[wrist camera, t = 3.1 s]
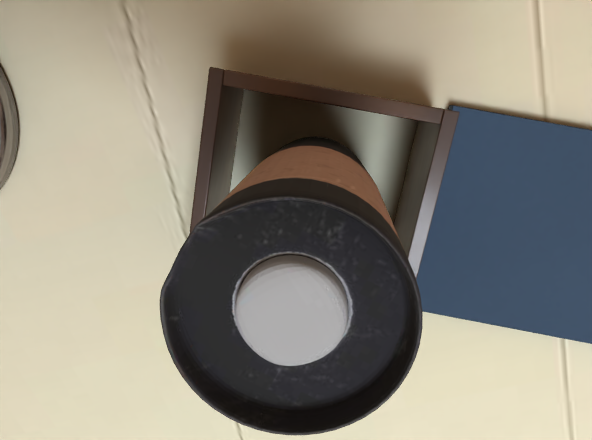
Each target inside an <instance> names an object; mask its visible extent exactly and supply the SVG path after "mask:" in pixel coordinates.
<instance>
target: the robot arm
mask: <svg viewBox="0 0 592 440" xmlns="http://www.w3.org/2000/svg"><path fill="white" fill-rule="evenodd" d="M17 146H18V118H17V111H16V106H15V102H14V98H13V95H12V92H11V89H10V86H9V84H8V81H7V79H6V77H5V75H4V73H3V71H2V69H1V67H0V189H1V188H2V186H3V185H4V184H5V182H6V180H7V178H8V176H9V174H10V172H11V170H12V167H13V164H14V161H15V157H16V152H17Z"/></svg>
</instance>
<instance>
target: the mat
mask: <svg viewBox="0 0 592 440" xmlns="http://www.w3.org/2000/svg"><path fill="white" fill-rule="evenodd" d="M448 110H452V111H458V112H460V113H459V117H458V121H457V125H456V129H455V133H454V136H453V140H452V144H451V148H450V152H449V156H448V160H447V163H446V167H445V171H444V175H443V179H442V183H441V187H440V191H439V194H438V198H437V202H436V206H435V210H434V214H433V218H432V221H431V225H430V229H429V233H428V237H427V241H426V245H425V248H424V252H423V256H422V260H421V264H420V268H419V272H418V275H417V279H416V281H417V284H418V288H419V291H420V296H421V304H422V311H424V312H429V313H434V314H439V315H444V316H450V317H455V318H460V319H465V320H471V321H476V322H481V323H486V324H491V325H497V326H502V327H507V328H512V329H518V330H523V331H528V332H533V333H538V334H544V335H549V336H554V337H559V338H564V339H570V340H575V341H580V342H585V343H591V344H592V130H588V129H583V128H577V127H571V126H566V125H560V124H555V123H549V122H544V121H538V120H532V119H527V118H521V117H516V116H510V115H505V114H499V113H494V112H488V111H482V110H477V109H471V108H466V107H460V106H455V105H450V106H449V109H448Z"/></svg>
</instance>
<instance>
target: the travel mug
mask: <svg viewBox="0 0 592 440" xmlns="http://www.w3.org/2000/svg"><path fill="white" fill-rule="evenodd" d="M160 315H161V323H162V328H163V334H164V337H165V341H166V344H167V348H168V350H169V353H170V355H171V357H172V359H173V362H174V364H175V365H176V367H177V369H178V370H179V372H180V374H181V376H182V377H183V378H184V380H185V381H186V382H187V383H188V385H189V386H190V387H191V389H192V390H193V391H194V392H195V393H196V394H197V395H198V396H199V397H200V398H201V399H202V400H204V401H205V402H206V403H207V404H209V405H210V406H211V407H212V408H214V409H215V410H217V411H218V412H220V413H221V414H223V415H225V416H226V417H228V418H230V419H232V420H234V421H236V422H238V423H240V424H242V425H245V426H248V427H251V428H254V429H257V430H261V431H265V432H269V433H275V434H283V435H310V434H319V433H324V432H328V431H333V430H337V429H339V428H342V427H345V426H348V425H350V424H352V423H354V422H356V421H358V420H360V419H362V418H364V417H366V416H367V415H369V414H370V413H372V412H373V411H375V410H376V409H378V408H379V407H380V406H381V405H382V404H383V403H385V402H386V401H387V400H388V399H389V398H390V397H391V396H392V395H393V394H394V392H395V391H396V390H397V389H398V388H399V387H400V385H401V384H402V382H403V381H404V379H405V377H406V376H407V374H408V373H409V371H410V369H411V367H412V364H413V362H414V360H415V358H416V354H417V351H418V348H419V345H420V339H421V333H422V304H421V296H420V291H419V288H418V284H417V281H416V277H415V274H414V272H413V269H412V267H411V265H410V262H409V260H408V258H407V255H406V253H405V251H404V249H403V246H402V244H401V242H400V239H399V237H398V235H397V232H396V230H395V228H394V225H393V223H392V221H391V218H390V216H389V214H388V211H387V209H386V207H385V204H384V202H383V200H382V197H381V195H380V193H379V190H378V188H377V186H376V184H375V183H374V181H373V179H372V178H371V176H370V175H369V173H368V172H367V171H366V169H365V168H364V166H363V165H362V163H361V162H360V161H359V159H358V158H357V157H356V156H355V155H354V154H353V153H352V152H351V151H350V150H349V149H348V148H346V147H345V146H344V145H342V144H340V143H338V142H336V141H333V140H331V139H327V138H321V137H308V138H303V139H299V140H296V141H294V142H291V143H289V144H287V145H286V146H284V147H283V148H281V149H280V150H278V151H277V152H275V153H274V154H272V155H271V156H269V157H268V158H266V159H265V160H263V161H262V162H261V163H260V164H258V165H257V166H256V167H255V168H254V169H253V170H252V171H251V172H250V173H249V174H248V175H247V176H246V177H245V178H244V179H243V180H242V181H241V182H240V183H239V184H238V185H237V186H236V187H235V188H234V189H233V190H232V191H231V192H230V193H229V194H228V195H227V196H226V197H225V198H224V199H223V200H222V201H221V202H220V203H219V204H218V205H217V206H216V207H215V208H214V210H212V211H211V212H210V213H209V214H208V215H207V216H206V217H205V218H203V219H202V220H201V221H200V222H198V223H197V224H196V226H195V227H194V229H193V231H192V232H191V234H190V235H189V236H188V238H187V240H186V241H185V243H184V244H183V246H182V248H181V249H180V251H179V253H178V255H177V257H176V259H175V262H174V264H173V266H172V268H171V270H170V272H169V274H168V276H167V278H166V280H165V282H164V285H163V287H162V290H161V295H160Z"/></svg>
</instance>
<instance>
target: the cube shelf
mask: <svg viewBox="0 0 592 440" xmlns="http://www.w3.org/2000/svg"><path fill="white" fill-rule="evenodd" d="M244 89H246V90H252V91H257V92H263V93H268V94H274V95H279V96H285V97H290V98H296V99H302V100H307V101H313V102H318V103H324V104H329V105H335V106H340V107H346V108H351V109H357V110H362V111H368V112H373V113H379V114H384V115H390V116H396V117H401V118H407V119H412V120H418V125H417V129H416V133H415V137H414V142H413V146H412V150H411V154H410V158H409V163H408V167H407V171H406V175H405V179H404V184H403V188H402V192H401V196H400V200H399V205H398V209H397V213H396V217H395V221H394V228H395V230H396V232H397V235H398V237H399V239H400V242H401V244H402V246H403V249H404V251H405V253H406V255H407V258H408V260H409V262H410V265H411V267H412V269H413V272H414V274H415V277H416V279H417V275H418V272H419V268H420V264H421V260H422V256H423V252H424V248H425V245H426V241H427V237H428V233H429V229H430V225H431V221H432V218H433V214H434V210H435V206H436V202H437V198H438V194H439V191H440V187H441V183H442V179H443V175H444V171H445V167H446V163H447V160H448V156H449V152H450V148H451V144H452V140H453V136H454V133H455V129H456V125H457V121H458V117H459V113H460V112H458V111H452V110H447V109H441V108H435V107H430V106H424V105H419V104H413V103H408V102H402V101H397V100H391V99H385V98H380V97H374V96H369V95H363V94H358V93H352V92H347V91H341V90H335V89H330V88H324V87H319V86H313V85H308V84H302V83H297V82H291V81H285V80H280V79H274V78H269V77H263V76H258V75H252V74H247V73H241V72H235V71H230V70H224V69H219V68H213V67H210V68H209V75H208V84H207V92H206V101H205V109H204V117H203V126H202V134H201V142H200V151H199V159H198V167H197V176H196V184H195V192H194V201H193V209H192V218H191V226H190V234H191V232H192V231H193V229H194V227H195V226H196V224H197V223H198V222H200V221H201V220H202V219H203V218H205V217H206V216H207V215H208V214H209V213H210V212H211V211H212V210H214V208H215V207H216V206H217V205H218V204H219V203H220V202H221V201H222V200H223V199H224V198H225V197H226V196H227V195H228V194H229V191H230V184H231V177H232V169H233V162H234V155H235V148H236V141H237V134H238V126H239V119H240V112H241V105H242V98H243V91H244ZM190 234H189V235H190Z"/></svg>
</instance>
